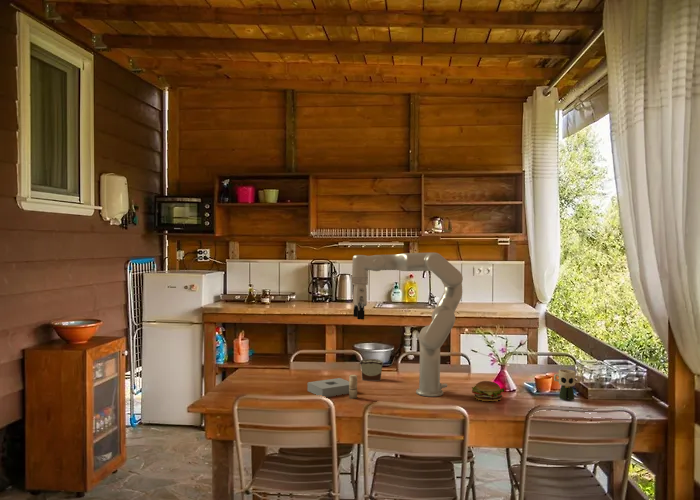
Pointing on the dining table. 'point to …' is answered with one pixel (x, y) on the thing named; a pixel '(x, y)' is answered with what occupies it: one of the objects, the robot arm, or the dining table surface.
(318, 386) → the socket board
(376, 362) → the food container
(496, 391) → the food
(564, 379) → the character mug
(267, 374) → the dining table surface
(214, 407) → the dining table surface
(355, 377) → the birch peg
